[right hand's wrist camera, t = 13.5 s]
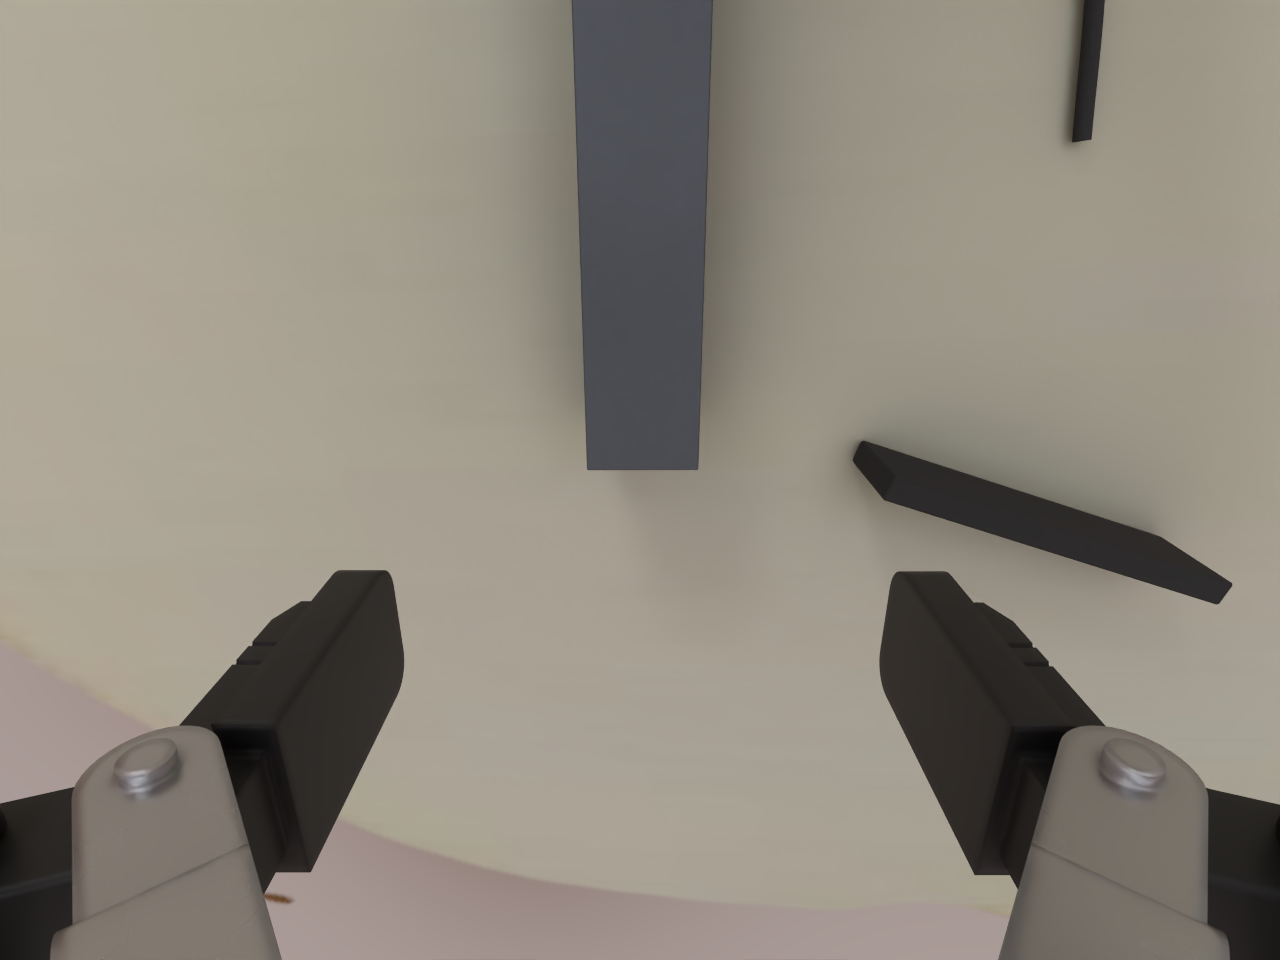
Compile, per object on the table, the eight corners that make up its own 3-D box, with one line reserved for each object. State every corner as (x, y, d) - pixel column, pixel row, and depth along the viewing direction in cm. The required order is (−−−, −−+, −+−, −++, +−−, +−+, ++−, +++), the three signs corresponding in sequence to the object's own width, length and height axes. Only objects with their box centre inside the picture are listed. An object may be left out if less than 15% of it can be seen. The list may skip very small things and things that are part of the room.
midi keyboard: (850, 462, 36) (882, 502, 31) (861, 439, 35) (894, 476, 31) (1147, 557, 38) (1218, 607, 33) (1161, 536, 37) (1235, 584, 33)
